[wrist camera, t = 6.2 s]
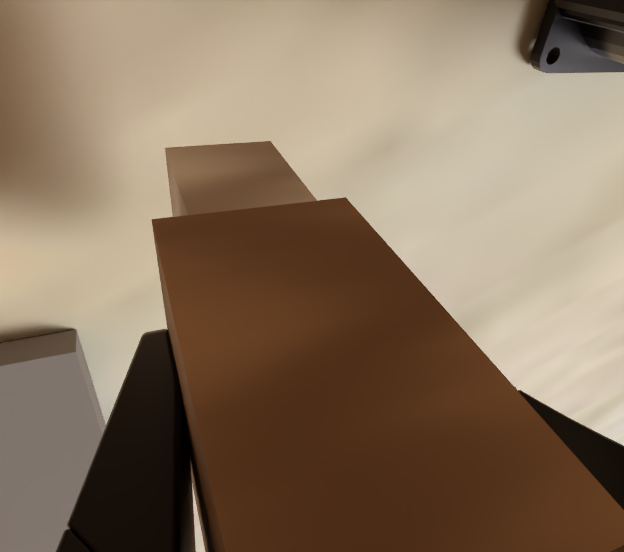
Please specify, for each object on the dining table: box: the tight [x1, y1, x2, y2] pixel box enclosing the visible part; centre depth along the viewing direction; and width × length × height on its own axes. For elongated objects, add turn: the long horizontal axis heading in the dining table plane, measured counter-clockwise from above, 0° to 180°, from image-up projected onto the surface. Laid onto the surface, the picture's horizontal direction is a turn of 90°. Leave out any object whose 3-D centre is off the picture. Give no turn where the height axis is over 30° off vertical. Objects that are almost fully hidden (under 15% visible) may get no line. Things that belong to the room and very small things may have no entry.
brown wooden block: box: [152, 141, 624, 552], centre depth 7 cm, size 3×5×8 cm, turn 176°
